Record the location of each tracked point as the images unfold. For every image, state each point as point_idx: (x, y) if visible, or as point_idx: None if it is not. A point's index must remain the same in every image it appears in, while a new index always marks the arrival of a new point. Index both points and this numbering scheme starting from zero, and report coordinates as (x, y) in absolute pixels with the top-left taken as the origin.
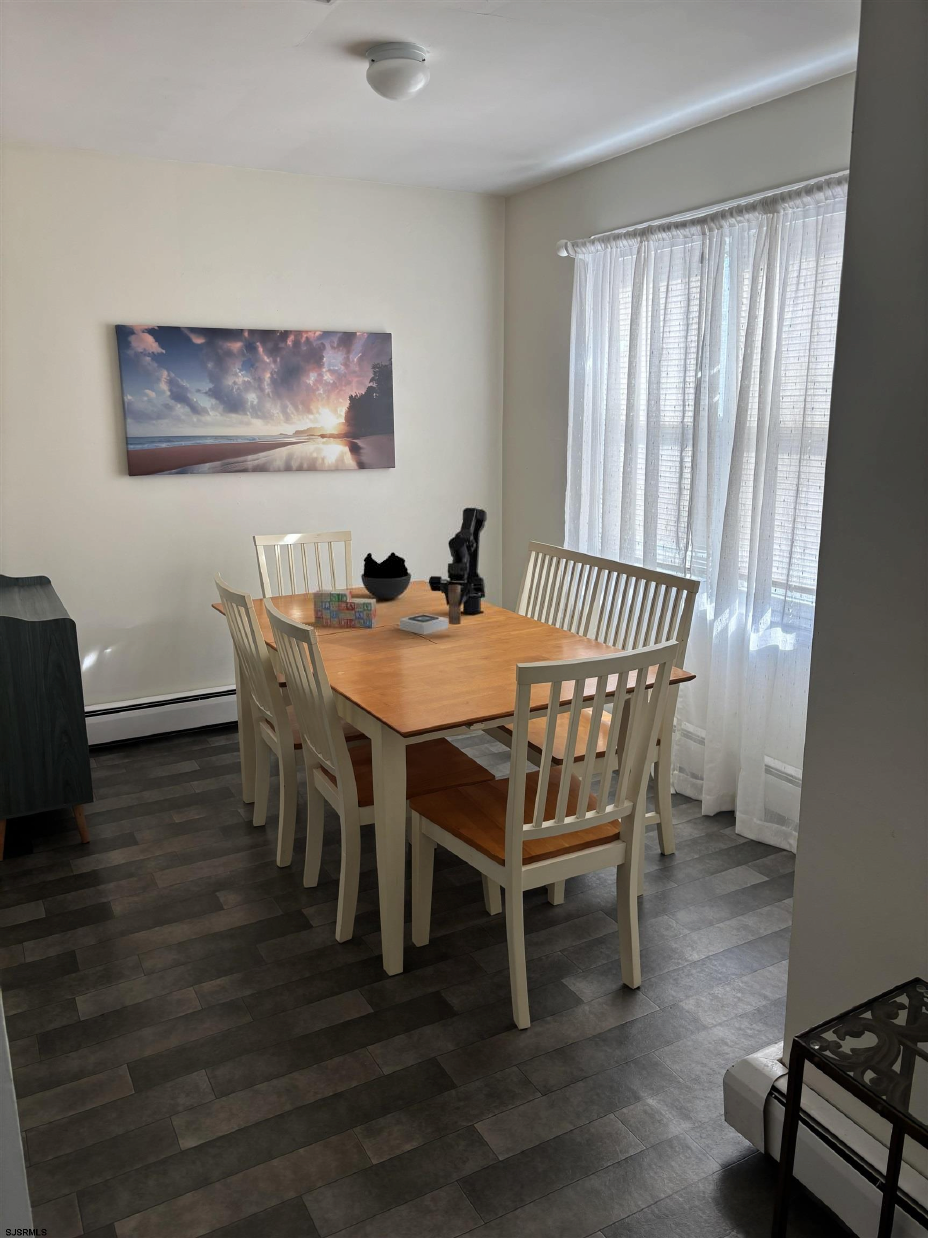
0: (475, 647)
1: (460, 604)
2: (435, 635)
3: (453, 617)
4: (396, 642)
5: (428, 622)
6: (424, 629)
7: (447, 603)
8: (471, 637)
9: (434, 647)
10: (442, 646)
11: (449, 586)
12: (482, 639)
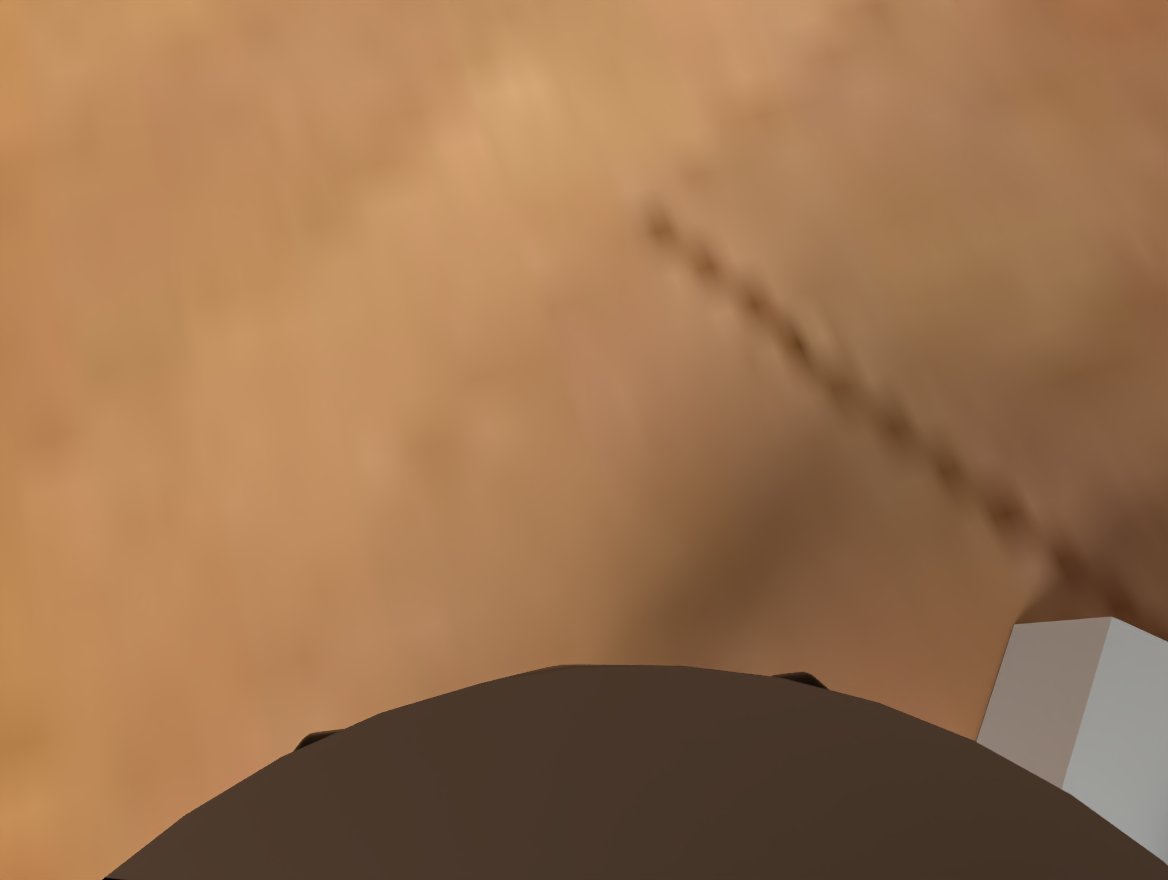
0: (125, 179)
1: (313, 737)
2: (832, 630)
3: (559, 665)
4: (1136, 154)
5: (1112, 813)
6: (1052, 640)
7: (784, 674)
8: (275, 668)
9: (615, 65)
10: (538, 125)
11: (1134, 840)
12: (89, 597)
